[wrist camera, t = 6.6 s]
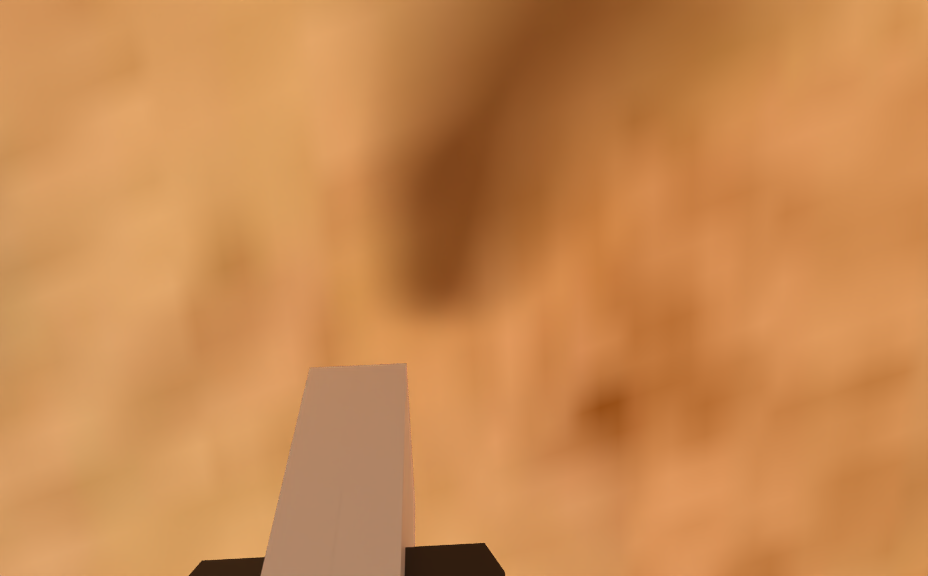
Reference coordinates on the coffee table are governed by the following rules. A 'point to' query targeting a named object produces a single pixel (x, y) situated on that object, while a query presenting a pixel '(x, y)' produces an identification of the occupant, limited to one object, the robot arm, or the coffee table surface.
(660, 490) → the coffee table surface
